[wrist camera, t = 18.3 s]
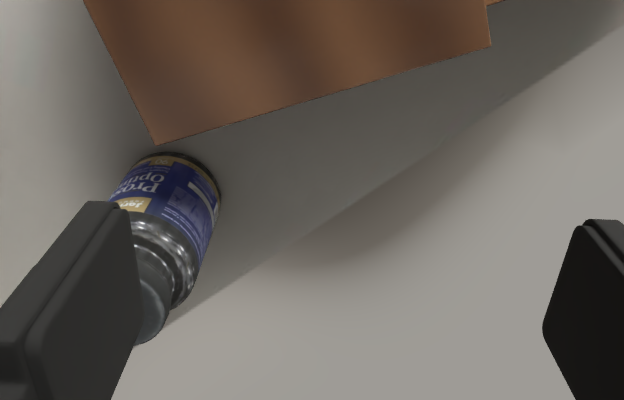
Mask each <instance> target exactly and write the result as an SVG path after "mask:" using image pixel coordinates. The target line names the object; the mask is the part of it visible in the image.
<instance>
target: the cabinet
mask: <svg viewBox="0 0 624 400" xmlns="http://www.w3.org/2000/svg"><path fill="white" fill-rule="evenodd" d="M83 2H84V4H85V6H86V8H87V10H88V12H89V14H90V16H91V18H92V20H93V22H94V24H95V26H96V28H97V30H98V32H99V34H100V36H101V38H102V40H103V42H104V44H105V46H106V48H107V50H108V52H109V54H110V56H111V58H112V60H113V62H114V64H115V66H116V68H117V70H118V72H119V74H120V76H121V78H122V80H123V82H124V84H125V86H126V88H127V90H128V92H129V94H130V96H131V98H132V100H133V102H134V104H135V106H136V108H137V110H138V112H139V114H140V116H141V118H142V120H143V122H144V124H145V126H146V128H147V130H148V132H149V134H150V136H151V138H152V140H153V142H154V144H155V146H159V145H162V144H166V143H169V142H173V141H176V140H179V139H183V138H186V137H189V136H193V135H196V134H199V133H203V132H206V131H209V130H213V129H216V128H219V127H223V126H226V125H230V124H233V123H236V122H240V121H243V120H246V119H250V118H253V117H256V116H260V115H263V114H266V113H270V112H273V111H276V110H280V109H283V108H287V107H290V106H293V105H297V104H300V103H303V102H307V101H310V100H313V99H317V98H320V97H323V96H327V95H330V94H333V93H337V92H340V91H344V90H347V89H350V88H354V87H357V86H360V85H364V84H367V83H370V82H374V81H377V80H380V79H384V78H387V77H390V76H394V75H397V74H401V73H404V72H407V71H411V70H414V69H417V68H421V67H424V66H427V65H431V64H434V63H437V62H441V61H444V60H447V59H451V58H454V57H457V56H461V55H464V54H468V53H471V52H474V51H478V50H481V49H484V48H488V47H490V46H491V40H490V33H489V26H488V19H487V12H486V5H485V0H83Z"/></svg>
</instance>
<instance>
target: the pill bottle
mask: <svg viewBox="0 0 624 400" xmlns="http://www.w3.org/2000/svg"><path fill="white" fill-rule="evenodd" d="M108 202H117V203H118V204H119V206H120V208H121V209H126V210H127V211H128V213H129V216H130V222H131V229H132V235H133V241H134V247H135V253H136V259H137V265H138V271H139V277H140V283H141V289H142V295H143V302H144V308H145V315H144V321H143V325H142V327H141V330H140V332H139V334H138V337H137V339H136V341H135V344H134V346H135V345H139V344H143V343H145V342H147V341H149V340H151V339H152V338H154V337H155V336H156V335H157V334H158V333H159V332H160V331H161V329H162V328H163V326H164V324H165V321H166V319H167V316H168V314H169V311H170V310H172V309H174V308H176V307H177V306H178V305H180V304H181V303H182V302H183V301H184V300H185V299H186V298H187V297H188V295H189V294H190V292H191V291H192V288H193V287H194V284H195V281H196V279H197V276H198V273H199V270H200V267H201V264H202V261H203V258H204V255H205V252H206V249H207V246H208V244H209V241H210V238H211V235H212V232H213V229H214V226H215V223H216V220H217V218H218V214H219V210H220V203H221V194H220V190H219V188H218V185H217V183H216V181H215V179H214V177H213V175H212V174H211V173H210V172H209V171H208V170H207V169H206V168H205V167H204V166H203V165H202V164H201V163H199V162H198V161H196V160H194V159H193V158H190V157H188V156H185V155H183V154H178V153H170V152H161V153H155V154H151V155H149V156H147V157H145V158H143V159H141V160H139V161H138V162H137V163H136V164H135V165H134V166H133V167H132V168H131V169H130V171H129V172H128V173H127V175H126V176H125V177H124V179H123V180H122V181H121V183H120V184H119V186H118V187H117V188H116V190H115V191H114V192H113V194H112V195H111V196H110V198H109V199H108Z"/></svg>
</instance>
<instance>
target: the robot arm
mask: <svg viewBox="0 0 624 400" xmlns="http://www.w3.org/2000/svg"><path fill="white" fill-rule="evenodd" d="M144 315H145V308H144V302H143V295H142V289H141V283H140V277H139V271H138V265H137V259H136V253H135V247H134V241H133V235H132V229H131V222H130V216H129V213H128V211H127V210H126V209H121V208H120V206H119V204H118V203H117V202H108V201H87V202H86V203H85V204H84V205H83V207H82V208H81V209H80V210H79V212H78V213H77V214H76V215H75V217H74V218H73V219H72V220H71V222H70V223H69V224H68V226H67V227H66V228H65V229H64V231H63V232H62V233H61V234H60V236H59V237H58V238H57V239H56V241H55V242H54V243H53V244H52V246H51V247H50V248H49V249H48V251H47V252H46V253H45V254H44V256H43V257H42V258H41V259H40V261H39V262H38V263H37V264H36V265H35V266H34V267H33V268H32V269H31V270H30V272H29V273H28V274H27V275H26V277H25V278H24V279H23V280H22V282H21V283H20V284H19V285H18V287H17V288H16V289H15V290H14V292H13V293H12V294H11V295H10V297H9V298H8V299H7V300H6V302H5V303H4V304H3V305H2V307H1V308H0V400H111V397H112V395H113V393H114V390H115V388H116V386H117V384H118V381H119V379H120V377H121V374H122V372H123V369H124V367H125V365H126V362H127V360H128V358H129V355H130V353H131V351H132V348H133V346H134V344H135V341H136V339H137V337H138V334H139V332H140V330H141V327H142V325H143V321H144ZM542 330H543V336H544V339H545V341H546V343H547V345H548V347H549V349H550V351H551V353H552V355H553V357H554V359H555V361H556V363H557V365H558V367H559V368H560V370H561V372H562V374H563V376H564V378H565V380H566V382H567V384H568V386H569V388H570V390H571V392H572V393H573V395H574V397H575V399H576V400H624V225H623V224H622V223H621V222H620V221H618V220H602V219H588V220H586V221H585V222H584V223H583V225H582V226H577V227H576V228H575V230H574V232H573V234H572V237H571V240H570V243H569V246H568V249H567V252H566V255H565V258H564V261H563V264H562V267H561V270H560V273H559V276H558V279H557V282H556V285H555V288H554V291H553V294H552V297H551V300H550V303H549V306H548V309H547V312H546V315H545V318H544V321H543V326H542Z"/></svg>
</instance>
